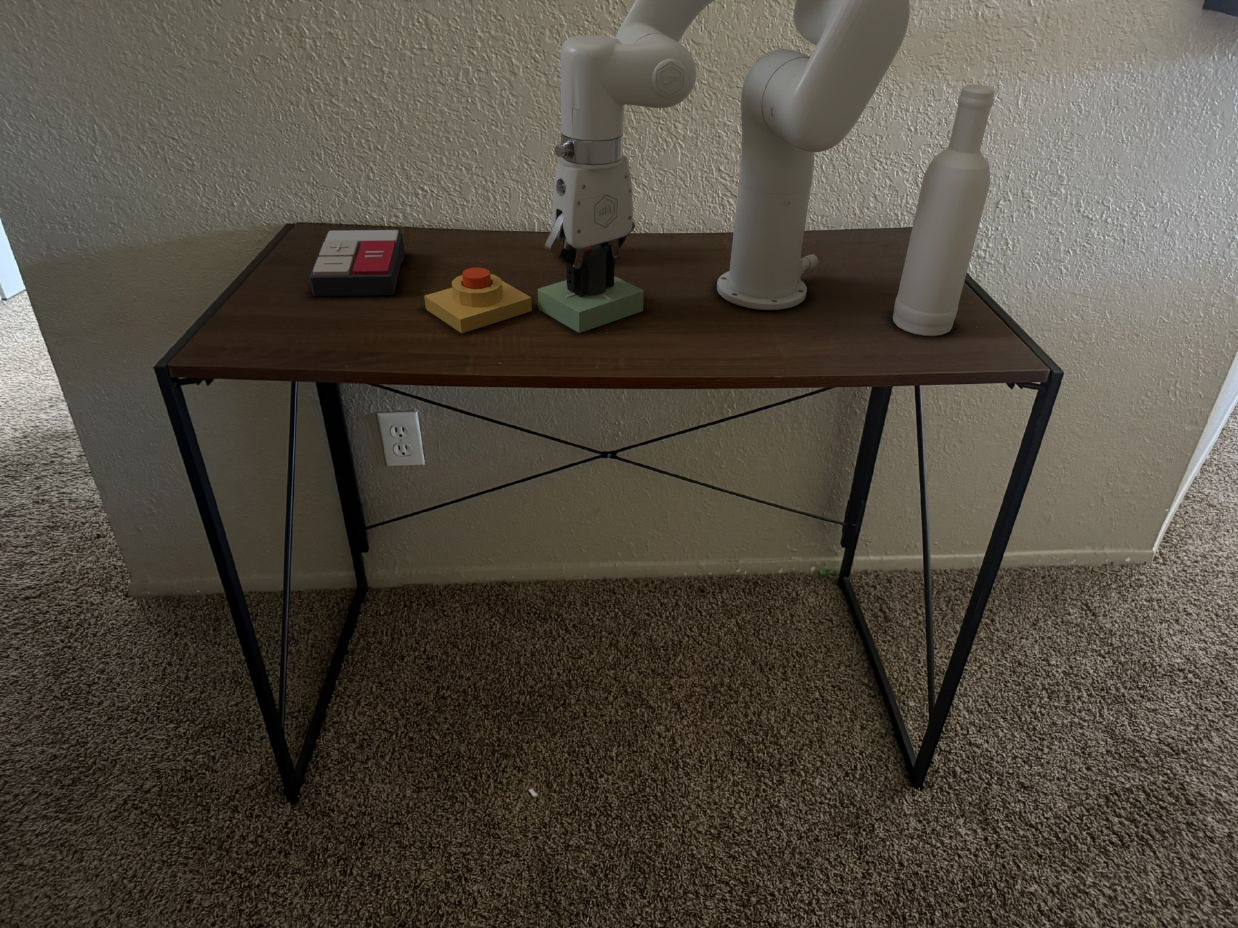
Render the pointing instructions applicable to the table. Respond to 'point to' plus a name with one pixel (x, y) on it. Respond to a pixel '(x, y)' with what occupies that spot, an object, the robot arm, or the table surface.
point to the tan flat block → (477, 304)
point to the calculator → (358, 263)
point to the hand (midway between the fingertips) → (590, 287)
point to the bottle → (946, 222)
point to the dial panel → (590, 304)
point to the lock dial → (595, 269)
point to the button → (476, 278)
